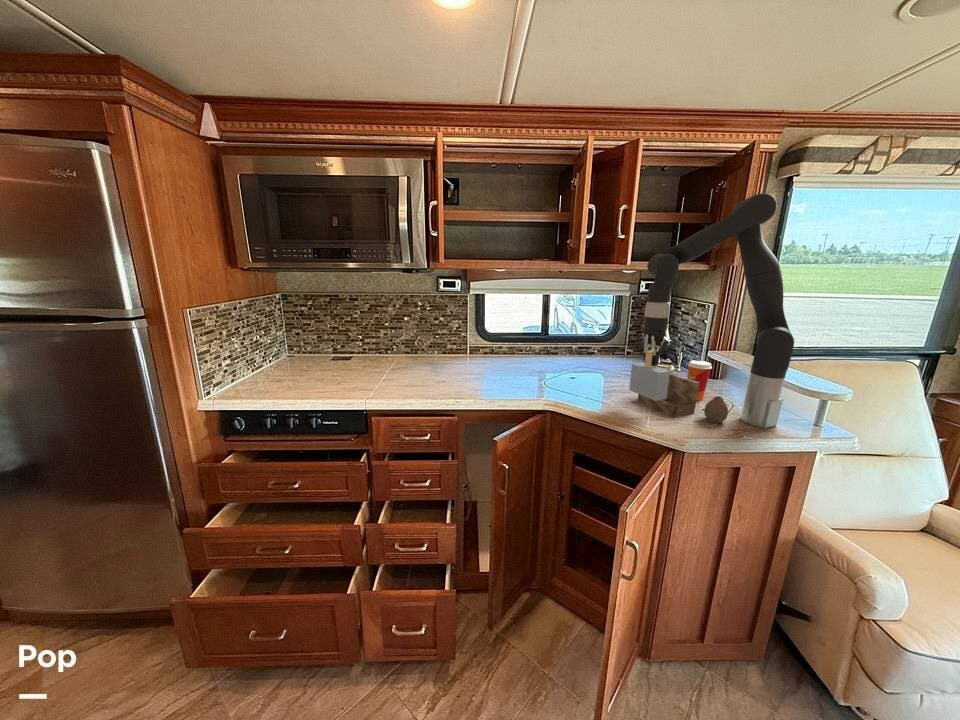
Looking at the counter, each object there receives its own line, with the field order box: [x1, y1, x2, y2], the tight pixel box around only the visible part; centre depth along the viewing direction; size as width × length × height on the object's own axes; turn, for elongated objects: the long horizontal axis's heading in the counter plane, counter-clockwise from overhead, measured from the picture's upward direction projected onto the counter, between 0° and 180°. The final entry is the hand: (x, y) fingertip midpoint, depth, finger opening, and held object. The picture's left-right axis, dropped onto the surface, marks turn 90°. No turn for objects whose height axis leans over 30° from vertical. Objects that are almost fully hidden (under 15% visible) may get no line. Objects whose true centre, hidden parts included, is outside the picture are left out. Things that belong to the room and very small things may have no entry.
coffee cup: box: [687, 360, 713, 402], centre depth 145 cm, size 8×8×15 cm
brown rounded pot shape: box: [703, 395, 729, 424], centre depth 125 cm, size 7×7×9 cm
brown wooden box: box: [637, 372, 700, 418], centre depth 137 cm, size 18×10×12 cm, turn 22°
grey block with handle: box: [628, 349, 671, 401], centre depth 128 cm, size 12×5×16 cm, turn 22°
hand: (650, 364), depth 127 cm, fingers closed on grey block with handle, 2 cm apart
